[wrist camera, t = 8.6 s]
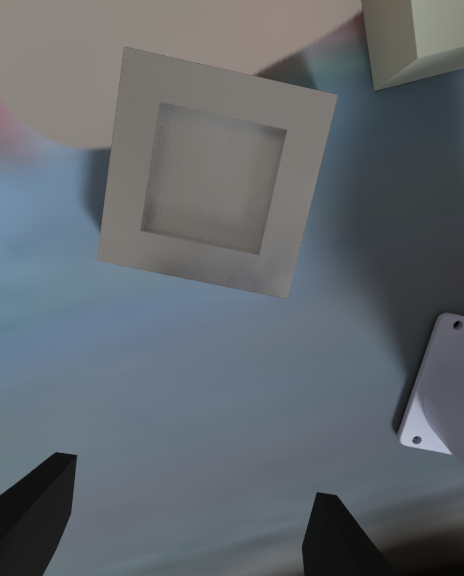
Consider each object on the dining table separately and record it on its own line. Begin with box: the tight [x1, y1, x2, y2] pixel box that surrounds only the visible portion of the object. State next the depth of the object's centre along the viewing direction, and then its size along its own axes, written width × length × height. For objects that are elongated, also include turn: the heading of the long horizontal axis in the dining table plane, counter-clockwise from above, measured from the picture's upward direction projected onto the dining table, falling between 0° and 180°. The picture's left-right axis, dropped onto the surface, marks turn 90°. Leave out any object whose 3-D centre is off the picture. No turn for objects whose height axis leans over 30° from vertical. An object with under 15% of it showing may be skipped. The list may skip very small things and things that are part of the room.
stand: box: [97, 47, 338, 299], centre depth 18 cm, size 9×9×2 cm
